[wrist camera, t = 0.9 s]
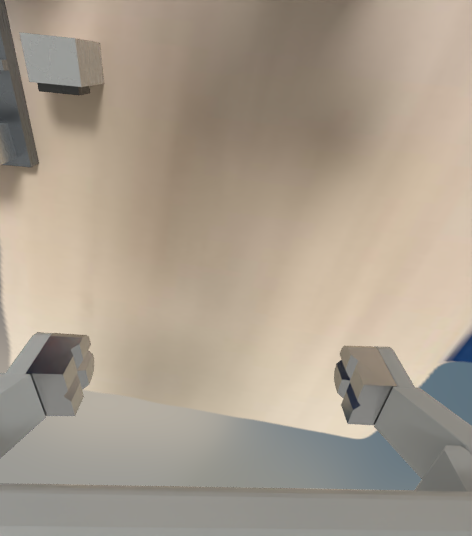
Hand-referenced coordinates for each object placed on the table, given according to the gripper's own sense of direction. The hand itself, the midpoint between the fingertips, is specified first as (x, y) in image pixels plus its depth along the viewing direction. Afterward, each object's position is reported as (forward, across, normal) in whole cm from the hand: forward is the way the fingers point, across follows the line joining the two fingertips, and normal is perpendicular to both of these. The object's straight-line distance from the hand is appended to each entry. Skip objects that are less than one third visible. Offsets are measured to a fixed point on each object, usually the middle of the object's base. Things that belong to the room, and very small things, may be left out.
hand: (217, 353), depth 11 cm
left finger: (+37, +17, -7) cm, 41 cm away
